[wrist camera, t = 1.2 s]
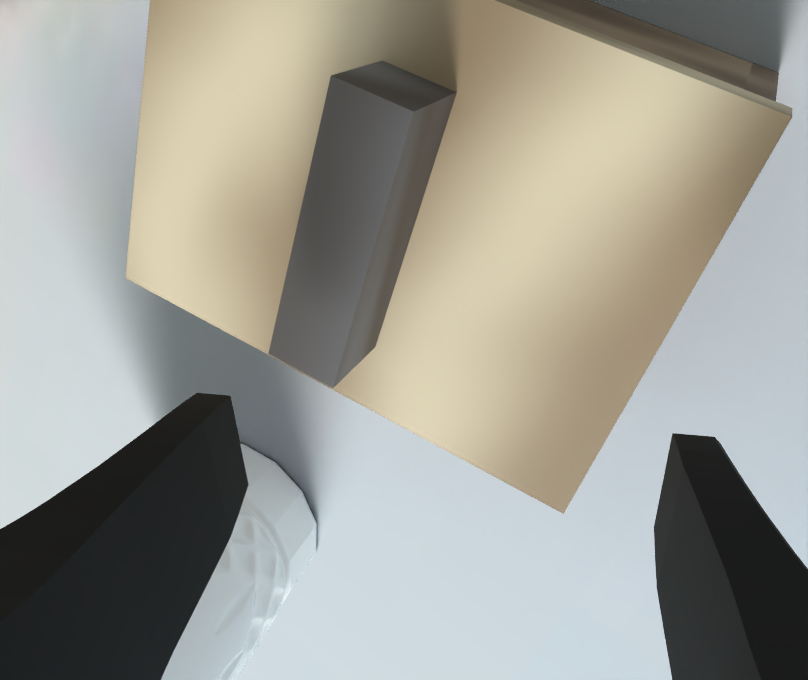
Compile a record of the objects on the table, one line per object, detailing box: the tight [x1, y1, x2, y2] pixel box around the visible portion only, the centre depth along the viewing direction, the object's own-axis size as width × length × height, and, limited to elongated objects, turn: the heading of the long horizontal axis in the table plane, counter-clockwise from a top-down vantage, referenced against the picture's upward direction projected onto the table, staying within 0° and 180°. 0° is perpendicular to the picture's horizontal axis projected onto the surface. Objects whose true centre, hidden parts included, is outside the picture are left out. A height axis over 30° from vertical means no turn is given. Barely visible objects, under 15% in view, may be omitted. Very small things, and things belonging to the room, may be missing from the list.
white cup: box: [161, 444, 317, 680], centre depth 27 cm, size 8×8×10 cm
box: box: [516, 0, 779, 102], centre depth 19 cm, size 12×9×5 cm
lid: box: [126, 0, 792, 513], centre depth 16 cm, size 12×9×3 cm
